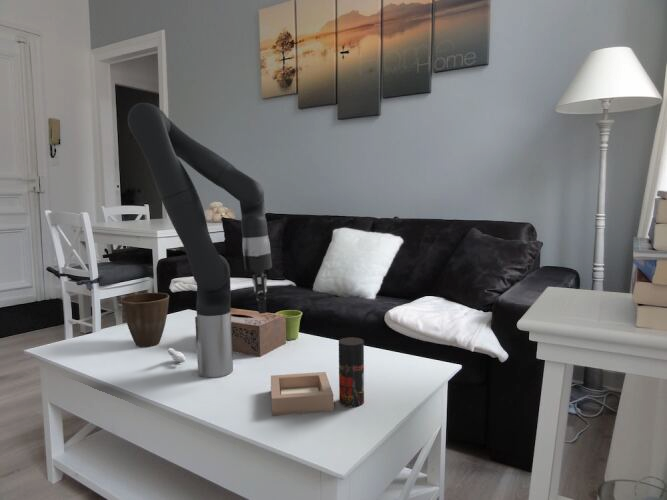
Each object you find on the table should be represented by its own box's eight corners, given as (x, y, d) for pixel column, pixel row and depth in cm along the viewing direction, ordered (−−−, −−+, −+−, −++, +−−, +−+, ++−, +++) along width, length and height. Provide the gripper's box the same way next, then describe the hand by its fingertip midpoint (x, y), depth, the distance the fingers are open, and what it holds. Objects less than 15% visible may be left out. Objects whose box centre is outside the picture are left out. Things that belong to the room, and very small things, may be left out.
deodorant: (338, 397, 120) (337, 337, 118) (362, 396, 120) (361, 336, 119) (340, 407, 114) (339, 345, 112) (365, 406, 114) (365, 344, 113)
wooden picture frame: (272, 415, 111) (271, 398, 110) (271, 390, 124) (270, 375, 124) (333, 410, 113) (333, 394, 112) (325, 386, 126) (325, 371, 126)
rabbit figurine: (190, 359, 149) (188, 355, 141) (182, 370, 147) (180, 367, 140) (173, 348, 149) (170, 344, 141) (165, 360, 147) (162, 356, 140)
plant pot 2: (298, 342, 163) (298, 317, 162) (271, 341, 165) (271, 316, 164) (305, 334, 172) (305, 310, 171) (280, 333, 174) (279, 309, 173)
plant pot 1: (181, 341, 166) (178, 295, 164) (143, 354, 154) (140, 304, 152) (152, 335, 174) (150, 291, 172) (114, 346, 162) (111, 299, 160)
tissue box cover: (196, 346, 162) (195, 316, 160) (225, 334, 174) (224, 307, 173) (260, 357, 150) (259, 326, 149) (286, 344, 163) (285, 314, 161)
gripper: (244, 250, 142) (249, 305, 144) (242, 257, 128) (248, 317, 130) (270, 248, 143) (275, 302, 145) (271, 254, 129) (276, 314, 131)
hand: (262, 309), depth 138 cm, fingers open, 8 cm apart
